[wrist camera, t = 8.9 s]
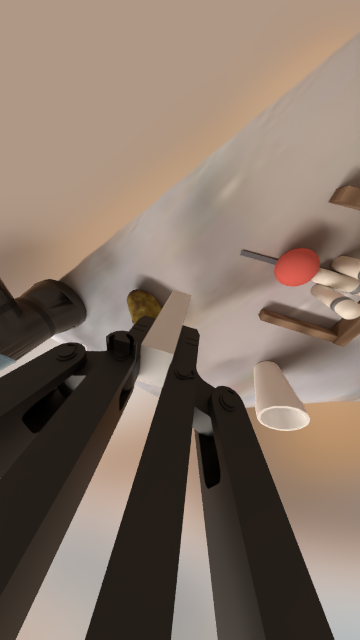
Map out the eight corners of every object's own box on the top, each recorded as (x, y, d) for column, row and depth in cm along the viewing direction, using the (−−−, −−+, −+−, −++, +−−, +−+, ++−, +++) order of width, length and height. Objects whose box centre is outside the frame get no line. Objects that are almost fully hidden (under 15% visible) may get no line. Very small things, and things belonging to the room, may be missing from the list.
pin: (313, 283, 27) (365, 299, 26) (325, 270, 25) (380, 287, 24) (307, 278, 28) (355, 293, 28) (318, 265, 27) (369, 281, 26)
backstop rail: (258, 314, 34) (261, 321, 32) (336, 189, 22) (351, 184, 19) (334, 337, 33) (343, 346, 31) (461, 220, 21) (493, 219, 18)
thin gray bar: (240, 254, 29) (240, 254, 28) (242, 250, 28) (242, 250, 28) (282, 266, 28) (282, 266, 28) (284, 262, 28) (285, 262, 28)
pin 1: (326, 268, 27) (368, 285, 19) (338, 253, 25) (387, 265, 18) (341, 272, 27) (388, 290, 19) (353, 257, 25) (409, 271, 18)
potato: (160, 282, 35) (147, 295, 28) (175, 327, 41) (166, 347, 35) (130, 288, 38) (111, 301, 31) (148, 330, 44) (135, 349, 37)
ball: (308, 290, 27) (275, 277, 30) (334, 255, 24) (294, 245, 27) (296, 294, 23) (261, 278, 27) (325, 253, 20) (281, 242, 24)
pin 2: (307, 293, 30) (336, 316, 22) (316, 281, 28) (351, 302, 21) (320, 297, 30) (354, 321, 22) (330, 285, 28) (369, 307, 21)
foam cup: (242, 362, 43) (250, 409, 32) (278, 352, 38) (301, 402, 28) (255, 383, 46) (267, 431, 35) (290, 376, 41) (315, 429, 31)
